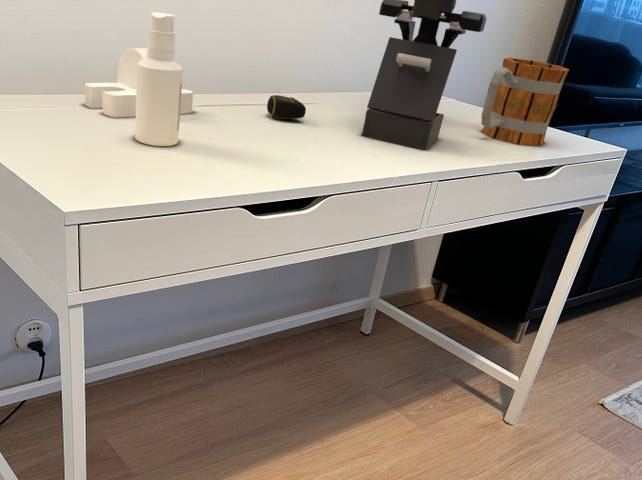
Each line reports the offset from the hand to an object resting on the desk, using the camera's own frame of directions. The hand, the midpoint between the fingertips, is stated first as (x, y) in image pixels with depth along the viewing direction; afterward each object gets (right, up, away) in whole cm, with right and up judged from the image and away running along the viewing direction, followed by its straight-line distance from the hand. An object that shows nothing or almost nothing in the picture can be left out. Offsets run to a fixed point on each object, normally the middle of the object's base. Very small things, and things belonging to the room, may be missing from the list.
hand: (420, 65), depth 126 cm
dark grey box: (-3, -12, +5) cm, 13 cm away
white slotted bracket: (-53, -10, -4) cm, 54 cm away
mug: (+23, -8, +18) cm, 30 cm away
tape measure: (-25, -8, +6) cm, 27 cm away
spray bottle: (-47, -22, -21) cm, 56 cm away
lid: (-3, -4, -4) cm, 6 cm away
